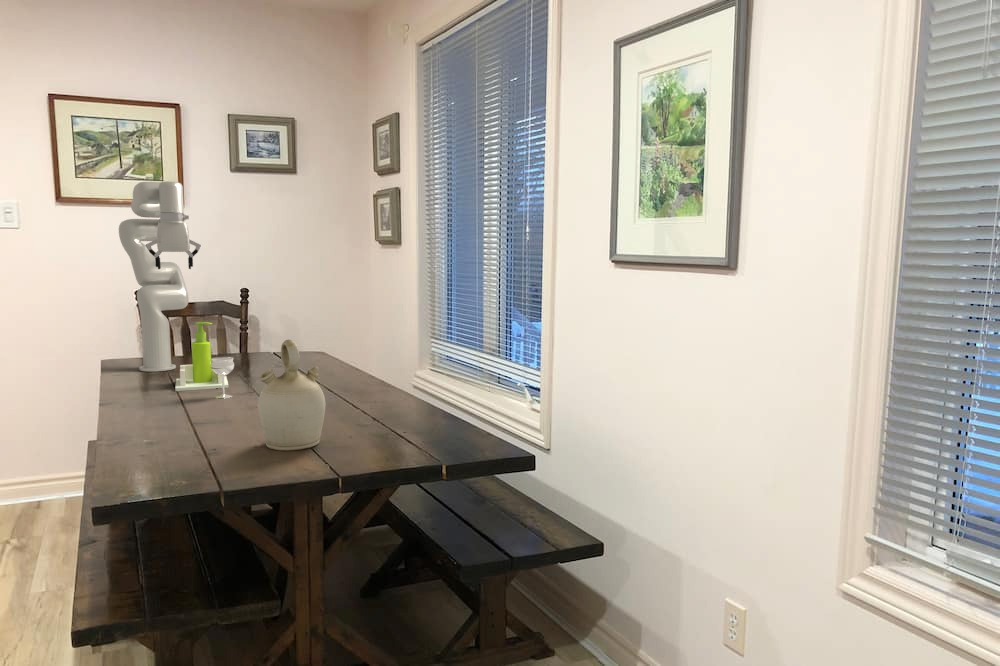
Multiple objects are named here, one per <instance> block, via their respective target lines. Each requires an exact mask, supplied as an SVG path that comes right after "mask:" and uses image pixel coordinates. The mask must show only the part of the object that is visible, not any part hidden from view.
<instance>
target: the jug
mask: <svg viewBox="0 0 1000 666" xmlns="http://www.w3.org/2000/svg"><path fill="white" fill-rule="evenodd" d="M280 356H281V357H280V360H281V363H282V366H283V369H284V371H283V373H282V374H281V375H279V376H278V377H276V375H275V370H274V369H273V368H271V369H270V368H269V369H267V370H265V371H264V372H262V373H261V374H260V375H259V377H258V380H259V382H262V383H264V384H265V386H264V387H263V388H262V390H261V392H260V395H259V397H258V402H257V411H258V412H257V413H258V417H259V421H260V425H261V428H262V429H261V430H262V434H263V438H264V440H265V441H264V442H265V445H266V447H267V448H268V449H270V450H275V451H284V452H285V451H288V452H291V451H298V450H300V451H301V450H305V449H310V448H312V447H314V446H318V445H319V444H320V438H321V436H322V430H323V425H324V421H325V413H326V406H327V405H326V397H325V394H324V392H323V390H322V388H321V386H320V385H319V384H318V383H317V381H316V380H317V379H318V378H319V370H320V368H319V367H318V366H316V365H315V366H313V367H312V368H311V369H308V370H306V371H307V372H306V373H307V374H301V373H300V372H299V368H300V358H301V357H300V352H299V348H298V345H297V343H296V342H295V341H294V340H292V339H286V340H284V341H283V342H282V344H281V347H280Z"/></svg>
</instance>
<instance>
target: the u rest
mask: <svg viewBox="0 0 1000 666" xmlns="http://www.w3.org/2000/svg"><path fill="white" fill-rule="evenodd" d="M174 388H175V392H183V391H184V392H185V391H186V392H187V391H199V390H201V391H202V390H213V389H214V390H215V389H216V388H218V389H223V386H222V377H221V376H220V375H218V374H216V373H215V372H214V371H213V370H212V381H211V382H206V383H195V382H193V364H180V365H179V378H176V379H175V387H174ZM228 388H229V381H228V377H227V375H226V376H225V377H224V389H228Z"/></svg>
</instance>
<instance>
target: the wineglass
mask: <svg viewBox="0 0 1000 666" xmlns="http://www.w3.org/2000/svg"><path fill="white" fill-rule="evenodd" d="M211 368H212V370H213V371H214V372H215V373H216V374H218V375H220V376H221V377H222V386H223V388H222V394H221V395H217V396H215V397H216V398H215V399H218V398H224V399H230V397H231V398H233V395H230V394H226V393H225V388H224V377H225V376H226V377H227V375H229V374H230V373H231V372H232V371H233V370H234V368H235V362H234V357H233V356H232V357H231V356H217V357H211Z"/></svg>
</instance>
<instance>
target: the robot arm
mask: <svg viewBox="0 0 1000 666" xmlns="http://www.w3.org/2000/svg"><path fill="white" fill-rule="evenodd" d="M184 204H185V203H184V187H183V184H182V183H181V182H179V181H169V180H168V181H167V180H166V181H161V182H160V181H140V182H138V183H137V184H136V185H134V188H133V190H132V200H131V203H130V208H131V210H132V211H131V212H133V214H134V215H136V216H138V217H141V218H128V219H125V220H123V221H121V222H120V224H119V226H118V236H119V240H120V241H119V242H120V243H121V245H122V248H123V249H124V251H125V252H126V254H127V256H128V257H129V260H130V262H131V266H132V270H133V272H134V277H135V280H136V282H137V284H138V285H139V286H141V287H140V288H138V290H137V293H136V299H137V305H138V308H139V314H140V315H139V316H140V323H141V324H140V326H141V328H140V329H141V339H142V341H141V342H142V343H141V344H142V361H143V362H142V363H143V364H142V365H140V366H139V367H138V370H139V371H140V372H146V373H147V372H154V373H155V372H164V371H171V370H175V369H176V368H177V365H176V364H173V363H172V353H171V352H172V351H171V332H170V331H171V330H170V322H169V321H170V320H169V319H168V318H167V316H166V315H164V313H163V312H162V311H174V310H183V309H185V308H186V307H187V306H188V304H189V294H188V293H189V292H188V289H187V286H186V283H185V280H184V276H183V274H182V273H183V272H182V269H181V268H180V266H179V265H178V264H177V263H175V262H171V261H161V258H160V255H161V254H162V253H181V252H182V253H186V254H187V255H188V257H187V260H188V262H187V263H188V264H187V265H188V269H189V270H191V269H192V267H194V262H193V261H194V260H193V259H194V257H195V255H197V254H198V253H199V251H200V249H201V246H202V245H201V243H198V242H196V241H194V240H192V239H190V233H189V226H188V223H186V222H185V221H186V220H189V219H190V218H189V215H186V214H185V207H184ZM143 242H148V243H146V244H144V243H143ZM155 245H156V246H157V251H154V250H153V248H152V246H155ZM191 245H192V246H194V247H195V248H194V250H193V251H190V247H191Z"/></svg>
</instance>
